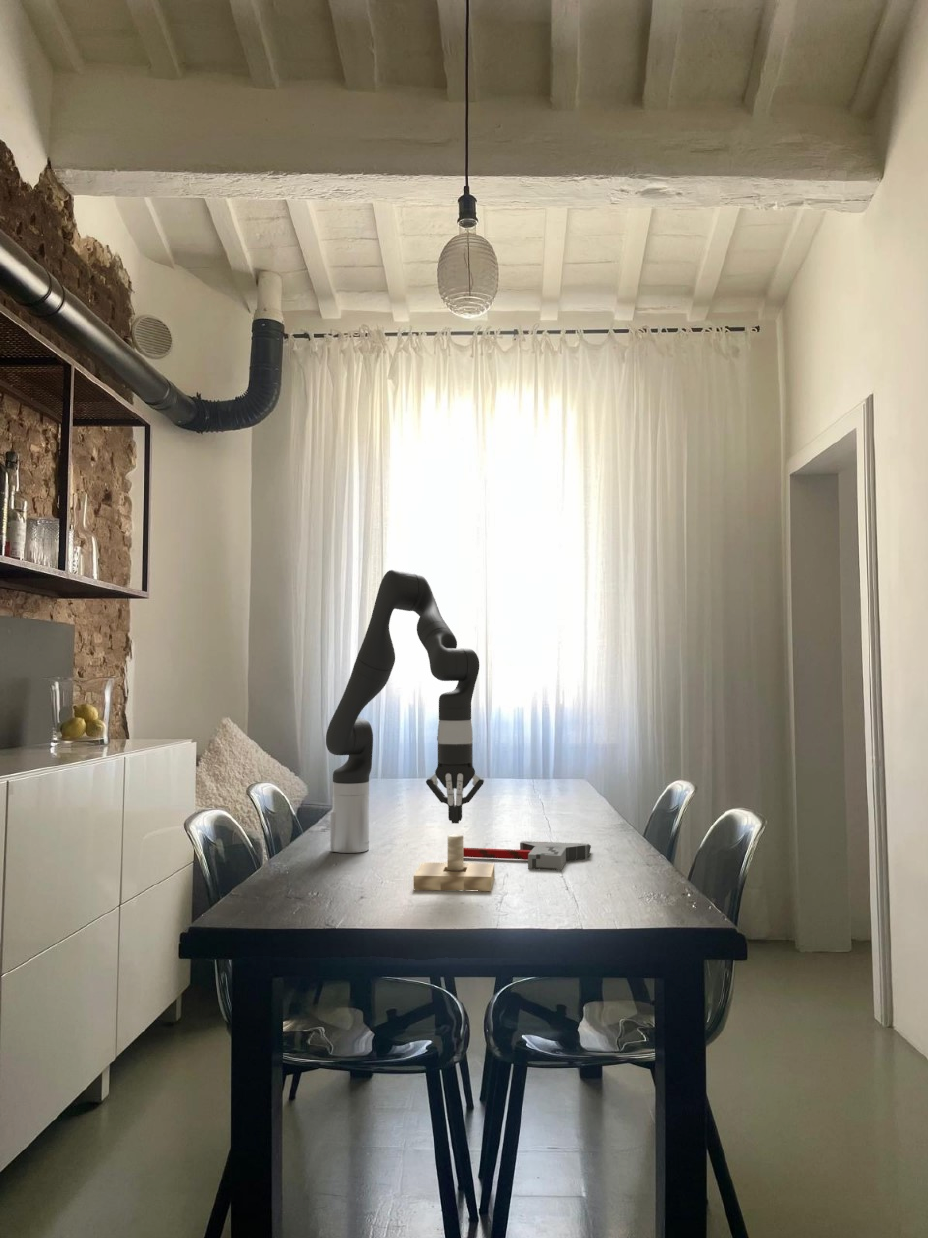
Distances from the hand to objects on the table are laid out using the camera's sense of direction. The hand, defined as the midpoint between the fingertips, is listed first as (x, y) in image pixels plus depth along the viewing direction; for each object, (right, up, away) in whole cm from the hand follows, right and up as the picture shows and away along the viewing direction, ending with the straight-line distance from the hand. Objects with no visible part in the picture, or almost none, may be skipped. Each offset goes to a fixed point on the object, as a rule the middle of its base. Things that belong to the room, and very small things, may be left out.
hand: (455, 823), depth 205 cm
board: (0, -13, -1) cm, 13 cm away
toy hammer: (+16, -15, +27) cm, 35 cm away
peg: (0, -13, -1) cm, 13 cm away
